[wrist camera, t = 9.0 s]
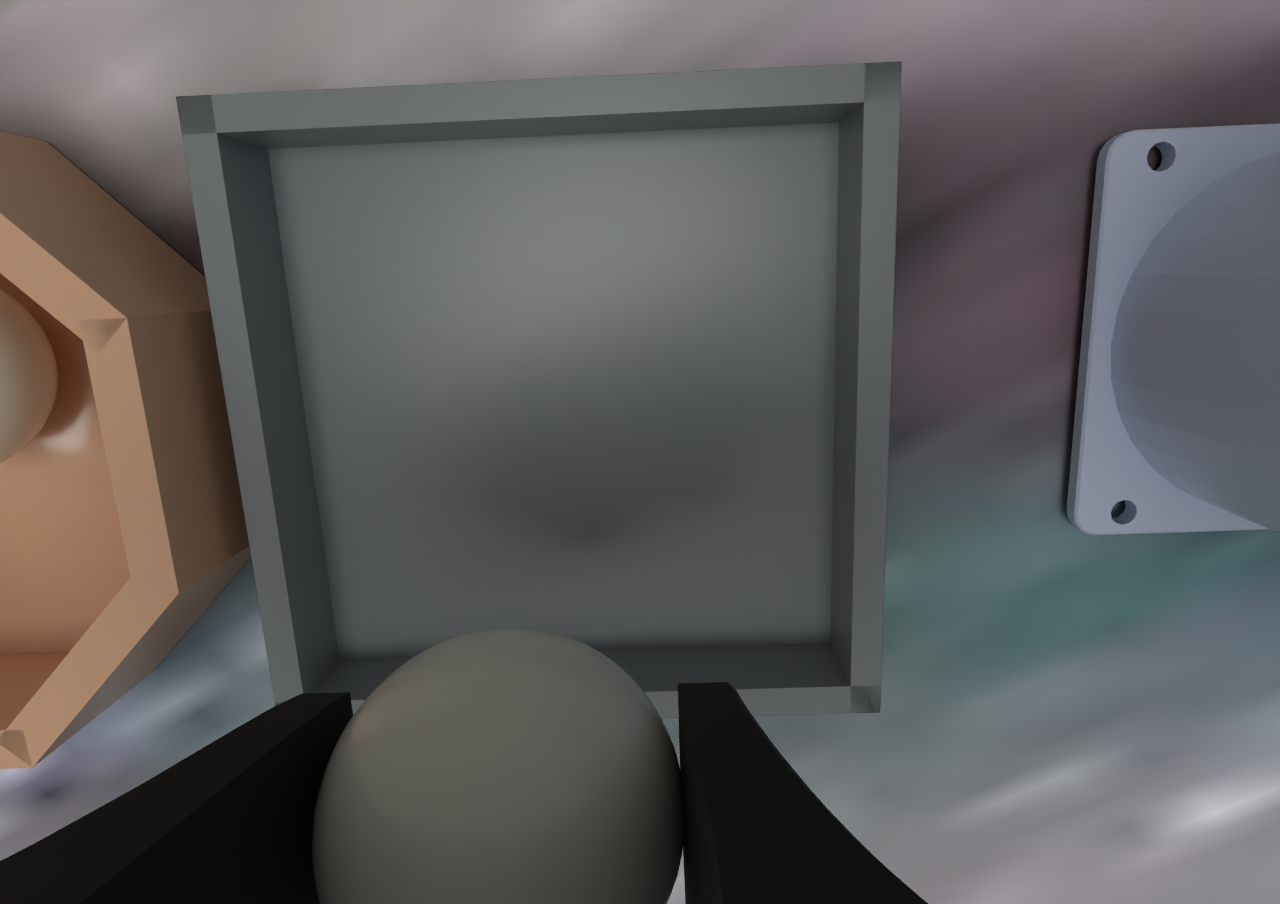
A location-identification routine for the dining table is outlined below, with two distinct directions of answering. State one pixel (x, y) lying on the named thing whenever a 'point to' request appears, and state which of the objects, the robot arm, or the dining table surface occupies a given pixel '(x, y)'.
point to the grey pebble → (501, 782)
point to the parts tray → (563, 370)
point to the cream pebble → (23, 377)
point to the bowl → (105, 457)
